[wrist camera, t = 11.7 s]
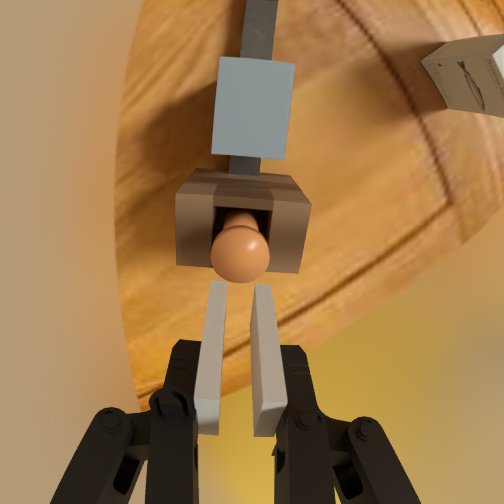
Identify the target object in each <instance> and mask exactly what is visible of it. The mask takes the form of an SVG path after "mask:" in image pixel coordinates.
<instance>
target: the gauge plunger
mask: <svg viewBox="0 0 504 504" xmlns="http://www.w3.org/2000/svg"><path fill="white" fill-rule="evenodd" d="M269 259H270V256H269V249H268V244H267V241H266V239H265V238H264V236H263V235H262V234H261V233H260V232H259V230H258V222H257V217H256V215H255V213H254V212H253V211H252V210H251V209H249V208H236V207H235V208H233V209H231V210H230V211H229V212H228V213H227V214H226V216H225V219H224V225H223V231H221V232H220V233H219V234H218V235H217V237H216V238H215V240H214V242H213V246H212V250H211V264H212V266H213V268H214V270H215V271H216V273H217V274H218V275H219V276H220V277H222V278H223V279H225V280H227V281H230V282H234V283H247V282H251V281H253V280H255V279H257V278H259V277H260V276H261V275H262V274H263V273H264V272H265V270H266V269H267V267H268V264H269Z"/></svg>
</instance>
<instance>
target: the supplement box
mask: <svg viewBox="0 0 504 504" xmlns="http://www.w3.org/2000/svg"><path fill="white" fill-rule="evenodd" d="M421 63H422V65H423V66H424V67H425V69H426V70H427V72H428V73H429V75H430V76H431V78H432V80H433V81H434V83H435V85H436V86H437V88H438V90H439V92H440V94H441V95H442V97H443V99H444V101H445V103H446V105H447V107H448V109H452V110H460V111H468V112H475V113H481V114H487V115H492V116H497V117H502V118H504V34H499V35H488V36H480V37H472V38H466V39H459V40H453V41H448V42H447V43H445V44H444V45H442V46H441V47H440V48H438V49H437V50H435V51H434V52H432V53H431V54H430V55H428V56H427V57H425V58H424V59H423V60H421Z"/></svg>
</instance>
